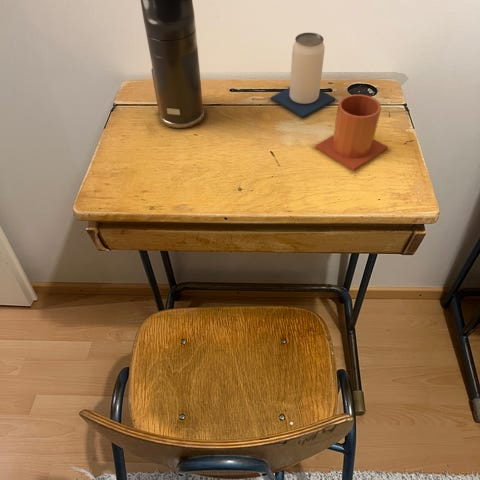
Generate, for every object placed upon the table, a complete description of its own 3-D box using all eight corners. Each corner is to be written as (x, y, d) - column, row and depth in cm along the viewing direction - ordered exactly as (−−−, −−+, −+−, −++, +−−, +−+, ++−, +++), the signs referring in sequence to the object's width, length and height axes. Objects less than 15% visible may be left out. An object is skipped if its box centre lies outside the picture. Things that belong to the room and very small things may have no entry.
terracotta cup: (323, 148, 92) (330, 105, 85) (349, 132, 95) (357, 89, 88) (352, 165, 89) (361, 122, 81) (378, 149, 91) (389, 106, 84)
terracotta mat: (315, 147, 92) (315, 145, 92) (349, 128, 96) (349, 125, 95) (353, 171, 88) (354, 168, 87) (387, 149, 91) (388, 147, 91)
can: (288, 104, 100) (291, 45, 91) (290, 88, 104) (294, 30, 94) (318, 106, 100) (325, 47, 90) (319, 90, 103) (326, 32, 94)
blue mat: (270, 99, 103) (270, 96, 102) (302, 83, 106) (303, 80, 106) (302, 118, 98) (303, 115, 98) (335, 100, 102) (335, 98, 101)
